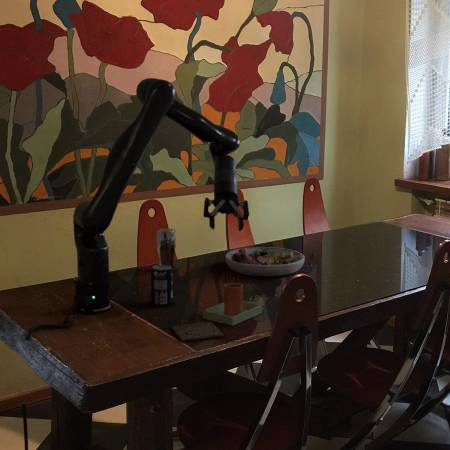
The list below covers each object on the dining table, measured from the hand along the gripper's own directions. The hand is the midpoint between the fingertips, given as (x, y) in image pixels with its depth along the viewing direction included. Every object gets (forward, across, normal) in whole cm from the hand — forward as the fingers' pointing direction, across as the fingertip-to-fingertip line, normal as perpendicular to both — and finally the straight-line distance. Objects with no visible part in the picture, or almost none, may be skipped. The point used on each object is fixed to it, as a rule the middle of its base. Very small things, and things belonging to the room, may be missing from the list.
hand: (226, 229), depth 225 cm
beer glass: (-10, -14, +50) cm, 53 cm away
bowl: (-10, +22, +46) cm, 52 cm away
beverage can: (+18, -18, +19) cm, 32 cm away
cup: (+26, +2, +6) cm, 27 cm away
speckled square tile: (+36, -10, -3) cm, 37 cm away
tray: (+26, +2, +7) cm, 27 cm away
